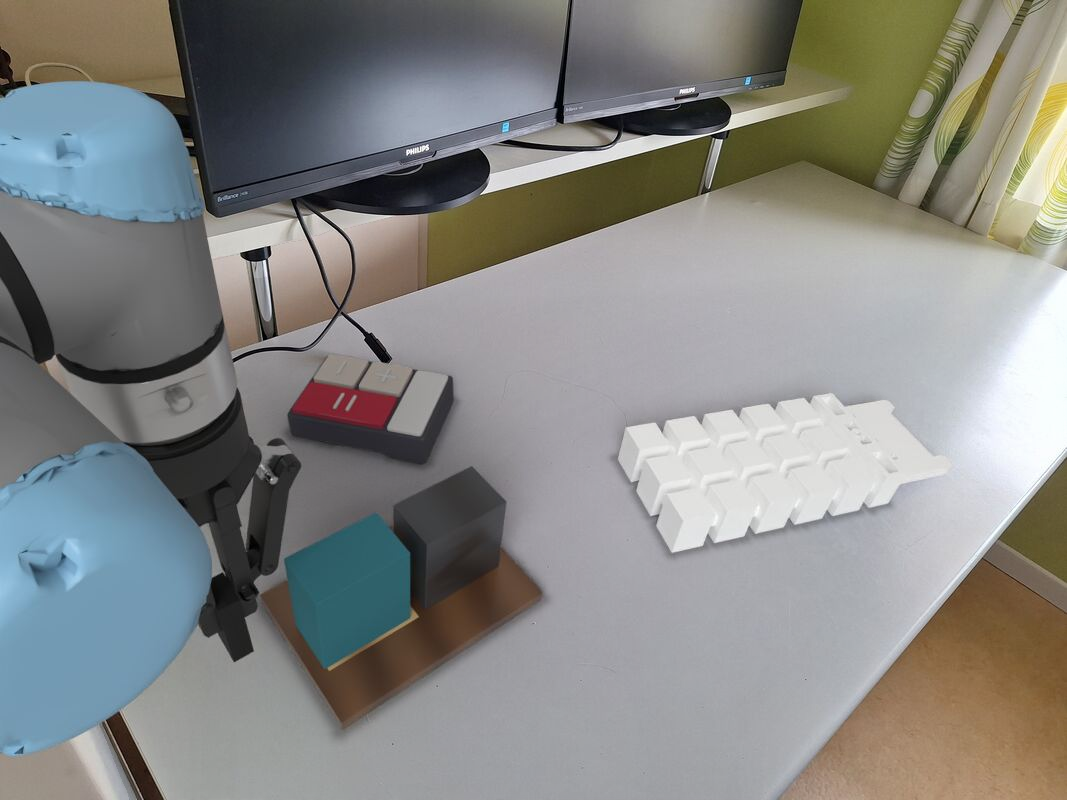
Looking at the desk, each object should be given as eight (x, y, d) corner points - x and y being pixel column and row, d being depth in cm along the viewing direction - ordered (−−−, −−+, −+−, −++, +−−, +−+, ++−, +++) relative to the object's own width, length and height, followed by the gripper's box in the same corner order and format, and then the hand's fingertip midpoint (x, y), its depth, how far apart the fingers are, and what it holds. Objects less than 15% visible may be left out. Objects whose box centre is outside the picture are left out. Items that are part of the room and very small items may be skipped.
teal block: (324, 670, 60) (315, 604, 54) (295, 625, 63) (283, 558, 57) (410, 618, 64) (410, 552, 59) (379, 578, 67) (376, 511, 61)
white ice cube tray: (625, 427, 80) (888, 383, 91) (617, 459, 83) (872, 413, 94) (683, 521, 71) (967, 460, 82) (671, 552, 74) (946, 490, 85)
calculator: (327, 348, 87) (454, 370, 85) (331, 377, 90) (454, 399, 88) (284, 409, 78) (423, 435, 77) (290, 439, 81) (425, 465, 80)
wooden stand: (342, 730, 58) (333, 660, 51) (261, 602, 66) (244, 526, 59) (541, 600, 69) (555, 527, 62) (452, 502, 76) (456, 429, 70)
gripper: (45, 501, 34) (163, 738, 50) (313, 395, 41) (342, 633, 56) (1, 407, 38) (123, 653, 54) (252, 325, 45) (295, 565, 61)
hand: (236, 643), depth 55 cm, fingers closed
